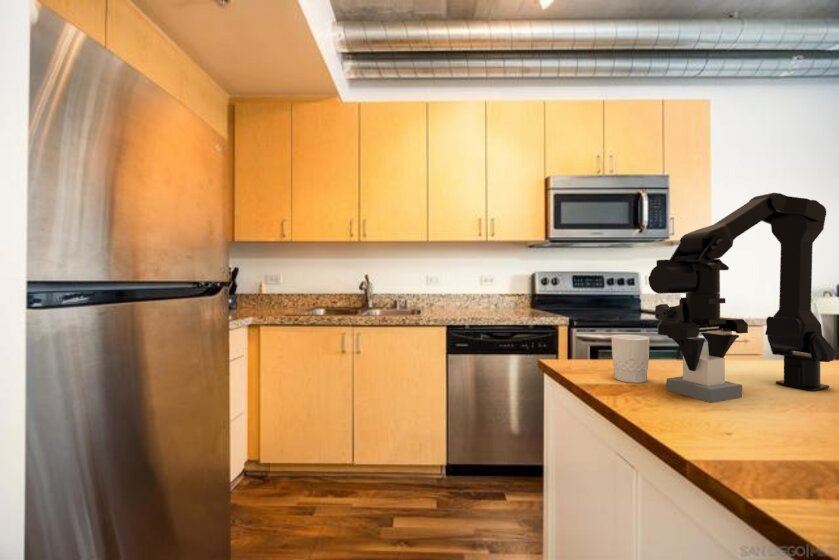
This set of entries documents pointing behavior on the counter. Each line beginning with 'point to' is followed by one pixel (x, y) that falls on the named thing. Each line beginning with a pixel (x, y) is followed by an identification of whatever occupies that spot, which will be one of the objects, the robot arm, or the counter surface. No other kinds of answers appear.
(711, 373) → the cube
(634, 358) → the white cup
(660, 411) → the counter surface
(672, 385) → the base
